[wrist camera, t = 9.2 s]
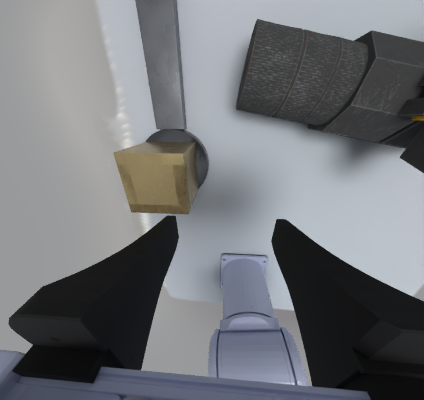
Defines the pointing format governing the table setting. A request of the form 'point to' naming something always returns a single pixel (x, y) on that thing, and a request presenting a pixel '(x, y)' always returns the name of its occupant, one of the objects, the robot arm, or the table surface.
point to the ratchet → (167, 75)
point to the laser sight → (339, 84)
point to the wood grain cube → (159, 176)
